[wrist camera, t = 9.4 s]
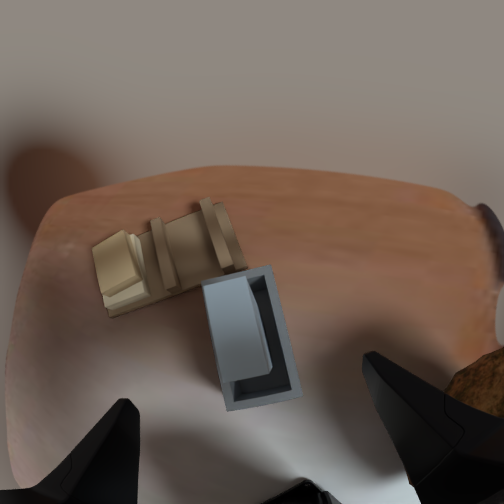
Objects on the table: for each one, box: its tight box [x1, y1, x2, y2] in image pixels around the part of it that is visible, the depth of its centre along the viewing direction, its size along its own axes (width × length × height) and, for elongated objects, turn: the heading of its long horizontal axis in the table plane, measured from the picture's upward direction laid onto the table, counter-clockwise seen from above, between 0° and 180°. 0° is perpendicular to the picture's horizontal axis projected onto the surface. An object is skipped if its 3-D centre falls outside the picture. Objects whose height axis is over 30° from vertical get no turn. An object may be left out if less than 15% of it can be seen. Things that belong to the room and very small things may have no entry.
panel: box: [203, 276, 273, 383], centre depth 16 cm, size 4×2×10 cm, turn 13°
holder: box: [201, 265, 303, 411], centre depth 19 cm, size 9×5×5 cm, turn 12°
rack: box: [92, 197, 248, 318], centre depth 23 cm, size 7×14×3 cm, turn 110°
